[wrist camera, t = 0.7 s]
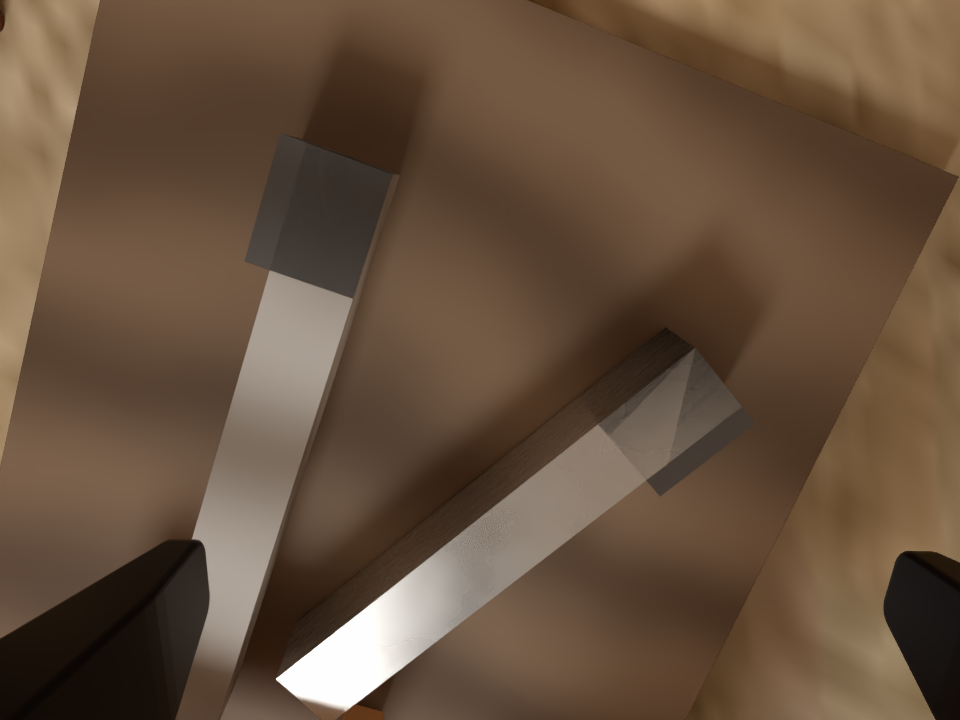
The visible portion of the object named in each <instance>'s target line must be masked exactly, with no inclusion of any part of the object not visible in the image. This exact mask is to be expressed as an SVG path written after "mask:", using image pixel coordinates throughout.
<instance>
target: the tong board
mask: <svg viewBox="0 0 960 720" xmlns="http://www.w3.org/2000/svg"><path fill="white" fill-rule="evenodd" d="M957 179H958V176H956V175H953V174H951V173H948V172H946V171H943V170H941V169H939V168H936V167H934V166H931V165H929V164H926V163H924V162H921V161H919V160H917V159H914V158H912V157H909V156H907V155H904V154H902V153H900V152H897V151H895V150H892V149H890V148H887V147H885V146H882V145H880V144H878V143H875V142H873V141H870V140H868V139H865V138H863V137H860V136H858V135H856V134H853V133H851V132H848V131H846V130H843V129H841V128H838V127H836V126H834V125H831V124H829V123H826V122H824V121H821V120H819V119H817V118H814V117H812V116H809V115H807V114H804V113H802V112H799V111H797V110H795V109H792V108H790V107H787V106H785V105H782V104H780V103H777V102H775V101H773V100H770V99H768V98H765V97H763V96H760V95H758V94H755V93H753V92H751V91H748V90H746V89H743V88H741V87H738V86H736V85H734V84H731V83H729V82H726V81H724V80H721V79H719V78H716V77H714V76H712V75H709V74H707V73H704V72H702V71H699V70H697V69H694V68H692V67H690V66H687V65H685V64H682V63H680V62H677V61H675V60H672V59H670V58H668V57H665V56H663V55H660V54H658V53H655V52H653V51H651V50H648V49H646V48H643V47H641V46H638V45H636V44H633V43H631V42H629V41H626V40H624V39H621V38H619V37H616V36H614V35H611V34H609V33H607V32H604V31H602V30H599V29H597V28H594V27H592V26H589V25H587V24H585V23H582V22H580V21H577V20H575V19H572V18H570V17H568V16H565V15H563V14H560V13H558V12H555V11H553V10H550V9H548V8H546V7H543V6H541V5H538V4H536V3H533V2H531V1H528V0H100V3H99V8H98V12H97V17H96V22H95V26H94V31H93V36H92V40H91V45H90V50H89V54H88V59H87V64H86V68H85V73H84V78H83V82H82V87H81V92H80V97H79V101H78V106H77V111H76V115H75V120H74V125H73V129H72V134H71V139H70V143H69V148H68V153H67V157H66V162H65V167H64V171H63V176H62V181H61V185H60V190H59V195H58V199H57V204H56V209H55V213H54V218H53V223H52V227H51V232H50V237H49V241H48V246H47V251H46V255H45V260H44V265H43V269H42V274H41V279H40V283H39V288H38V293H37V297H36V302H35V307H34V312H33V316H32V321H31V326H30V330H29V335H28V340H27V344H26V349H25V354H24V358H23V363H22V368H21V372H20V377H19V382H18V386H17V391H16V396H15V400H14V405H13V410H12V414H11V419H10V424H9V428H8V433H7V438H6V442H5V447H4V452H3V456H2V461H1V466H0V638H2V637H3V636H5V635H7V634H8V633H10V632H12V631H14V630H15V629H17V628H19V627H20V626H22V625H24V624H25V623H27V622H29V621H30V620H32V619H34V618H36V617H37V616H39V615H41V614H42V613H44V612H46V611H47V610H49V609H51V608H52V607H54V606H56V605H58V604H59V603H61V602H63V601H64V600H66V599H68V598H69V597H71V596H73V595H74V594H76V593H78V592H79V591H81V590H83V589H85V588H86V587H88V586H90V585H91V584H93V583H95V582H96V581H98V580H100V579H101V578H103V577H105V576H106V575H108V574H110V573H112V572H113V571H115V570H117V569H118V568H120V567H122V566H123V565H125V564H127V563H128V562H130V561H132V560H134V559H135V558H137V557H139V556H140V555H142V554H144V553H145V552H147V551H149V550H150V549H152V548H154V547H155V546H157V545H159V544H161V543H162V542H164V541H166V540H169V539H197V540H200V541H201V542H202V543H203V545H204V547H205V552H206V561H207V572H208V582H209V592H210V602H209V610H208V614H207V618H206V621H205V624H204V628H203V631H202V634H201V638H200V641H199V644H198V648H197V651H196V654H195V657H194V661H193V664H192V667H191V671H190V674H189V677H188V681H187V684H186V687H185V690H184V694H183V697H182V700H181V704H180V707H179V710H178V713H177V716H176V719H175V720H321V719H320V718H319V717H318V716H317V715H316V714H314V713H313V712H312V711H311V710H310V709H309V708H308V707H307V706H306V705H304V704H303V703H302V702H301V701H300V700H299V699H298V698H297V697H296V696H294V695H293V694H292V693H291V692H290V691H289V690H288V689H287V688H285V687H284V686H283V685H282V684H281V683H280V682H279V681H278V680H277V679H276V678H277V675H278V672H279V669H280V666H281V663H282V661H283V658H284V655H285V652H286V649H287V646H288V643H289V640H290V637H291V634H292V631H293V629H294V626H295V624H296V623H297V622H298V621H300V620H301V619H302V618H303V617H305V616H306V615H307V614H308V613H310V612H311V611H312V610H313V609H315V608H316V607H317V606H318V605H320V604H321V603H322V602H323V601H325V600H326V599H327V598H328V597H330V596H331V595H332V594H333V593H335V592H336V591H337V590H338V589H340V588H341V587H342V586H343V585H345V584H346V583H347V582H348V581H350V580H351V579H352V578H353V577H355V576H356V575H357V574H358V573H360V572H361V571H362V570H363V569H365V568H366V567H367V566H368V565H370V564H371V563H372V562H373V561H375V560H376V559H377V558H378V557H380V556H381V555H382V554H383V553H385V552H386V551H387V550H388V549H390V548H391V547H392V546H393V545H395V544H396V543H397V542H398V541H400V540H401V539H402V538H403V537H405V536H406V535H407V534H408V533H410V532H411V531H412V530H413V529H415V528H416V527H417V526H418V525H420V524H421V523H422V522H423V521H425V520H426V519H427V518H428V517H430V516H431V515H432V514H433V513H434V512H436V511H437V510H438V509H439V508H441V507H442V506H443V505H444V504H446V503H447V502H448V501H449V500H451V499H452V498H453V497H454V496H456V495H457V494H458V493H459V492H461V491H462V490H463V489H464V488H466V487H467V486H468V485H469V484H471V483H472V482H473V481H474V480H476V479H477V478H478V477H479V476H481V475H482V474H483V473H484V472H486V471H487V470H488V469H489V468H491V467H492V466H493V465H494V464H496V463H497V462H498V461H499V460H501V459H502V458H503V457H504V456H506V455H507V454H508V453H509V452H511V451H512V450H513V449H514V448H516V447H517V446H518V445H519V444H521V443H522V442H523V441H524V440H526V439H527V438H528V437H529V436H531V435H532V434H533V433H534V432H536V431H537V430H538V429H539V428H541V427H542V426H543V425H544V424H546V423H547V422H548V421H549V420H551V419H552V418H553V417H554V416H556V415H557V414H558V413H559V412H561V411H562V410H563V409H564V408H566V407H567V406H568V405H569V404H571V403H572V402H573V401H574V400H576V399H577V398H578V397H579V396H581V395H582V394H583V393H584V392H586V391H587V390H588V389H589V388H591V387H592V386H593V385H594V384H596V383H597V382H598V381H599V380H601V379H602V378H603V377H604V376H606V375H607V374H608V373H609V372H611V371H612V370H613V369H614V368H615V367H617V366H618V365H619V364H620V363H622V362H623V361H624V360H625V359H627V358H628V357H629V356H630V355H632V354H633V353H634V352H635V351H637V350H638V349H639V348H640V347H642V346H643V345H644V344H645V343H647V342H648V341H649V340H650V339H652V338H653V337H654V336H655V335H657V334H658V333H659V332H660V331H662V330H663V329H664V328H665V327H666V328H668V329H669V330H671V331H672V332H674V333H675V334H677V335H678V336H679V337H681V338H682V339H684V340H685V341H687V342H688V343H690V344H691V345H693V346H694V347H695V348H696V349H697V350H698V351H699V353H700V354H701V355H702V356H703V358H704V359H705V360H706V362H707V363H708V364H709V365H710V367H711V368H712V369H713V370H714V372H715V373H716V374H717V376H718V377H719V378H720V379H721V381H722V382H723V383H724V385H725V386H726V387H727V388H728V390H729V391H730V392H731V393H732V395H733V396H734V397H735V399H736V400H737V401H738V402H739V404H740V405H741V406H742V407H743V409H744V410H745V411H746V413H747V414H748V415H749V416H750V418H751V419H752V420H753V421H754V423H755V425H753V426H752V427H751V428H749V429H748V430H747V431H745V432H744V433H743V434H741V435H740V436H739V437H738V438H736V439H735V440H734V441H732V442H731V443H730V444H728V445H727V446H726V447H724V448H723V449H722V450H721V451H719V452H718V453H717V454H715V455H714V456H713V457H711V458H710V459H709V460H707V461H706V462H705V463H703V464H702V465H701V466H700V467H698V468H697V469H696V470H694V471H693V472H692V473H690V474H689V475H688V476H686V477H685V478H684V479H683V480H681V481H680V482H679V483H677V484H676V485H675V486H673V487H672V488H671V489H669V490H668V491H667V492H665V493H664V494H663V495H662V496H659V495H658V494H657V493H656V491H655V490H654V489H653V488H652V487H651V486H650V484H649V483H648V482H647V481H645V482H643V483H642V484H641V485H639V486H638V487H637V488H636V489H634V490H633V491H632V492H630V493H629V494H628V495H626V496H625V497H624V498H623V499H621V500H620V501H619V502H617V503H616V504H615V505H613V506H612V507H611V508H610V509H608V510H607V511H606V512H604V513H603V514H602V515H600V516H599V517H598V518H597V519H595V520H594V521H593V522H591V523H590V524H589V525H587V526H586V527H585V528H584V529H582V530H581V531H580V532H578V533H577V534H576V535H574V536H573V537H572V538H571V539H569V540H568V541H567V542H565V543H564V544H563V545H561V546H560V547H559V548H558V549H556V550H555V551H554V552H552V553H551V554H550V555H548V556H547V557H546V558H545V559H543V560H542V561H541V562H539V563H538V564H537V565H535V566H534V567H533V568H532V569H530V570H529V571H528V572H526V573H525V574H524V575H522V576H521V577H520V578H519V579H517V580H516V581H515V582H513V583H512V584H511V585H509V586H508V587H507V588H506V589H504V590H503V591H502V592H500V593H499V594H498V595H496V596H495V597H494V598H493V599H491V600H490V601H489V602H487V603H486V604H485V605H483V606H482V607H481V608H480V609H478V610H477V611H476V612H474V613H473V614H472V615H470V616H469V617H468V618H467V619H465V620H464V621H463V622H461V623H460V624H459V625H457V626H456V627H455V628H454V629H452V630H451V631H450V632H448V633H447V634H446V635H444V636H443V637H442V638H441V639H439V640H438V641H437V642H435V643H434V644H433V645H431V646H430V647H429V648H428V649H426V650H425V651H424V652H422V653H421V654H420V655H418V656H417V657H416V658H415V659H413V660H412V661H411V662H409V663H408V664H407V665H405V666H404V667H403V668H402V669H400V670H399V671H398V672H396V673H395V674H394V675H392V676H391V677H390V678H389V679H387V680H386V681H385V682H383V683H382V684H381V685H379V686H378V687H377V688H376V689H374V690H373V691H372V692H370V693H369V694H368V695H366V696H365V697H364V698H363V699H361V700H360V701H359V702H357V703H356V705H359V706H363V707H367V708H371V709H374V710H378V711H382V712H384V717H383V720H686V718H687V716H688V714H689V712H690V710H691V708H692V706H693V704H694V702H695V700H696V698H697V696H698V694H699V692H700V690H701V688H702V686H703V684H704V682H705V680H706V678H707V676H708V674H709V672H710V670H711V668H712V666H713V664H714V662H715V660H716V658H717V657H718V655H719V653H720V651H721V649H722V647H723V645H724V643H725V641H726V639H727V637H728V635H729V633H730V631H731V629H732V627H733V625H734V623H735V621H736V619H737V617H738V615H739V613H740V611H741V609H742V607H743V605H744V603H745V601H746V599H747V597H748V595H749V593H750V591H751V589H752V587H753V585H754V583H755V581H756V579H757V577H758V575H759V573H760V571H761V569H762V567H763V565H764V563H765V561H766V559H767V557H768V555H769V553H770V551H771V549H772V547H773V545H774V543H775V541H776V539H777V537H778V535H779V533H780V531H781V529H782V527H783V525H784V523H785V521H786V519H787V517H788V515H789V513H790V511H791V509H792V507H793V505H794V503H795V501H796V499H797V497H798V495H799V493H800V492H801V490H802V488H803V486H804V484H805V482H806V480H807V478H808V476H809V474H810V472H811V470H812V468H813V466H814V464H815V462H816V460H817V458H818V456H819V454H820V452H821V450H822V448H823V446H824V444H825V442H826V440H827V438H828V436H829V434H830V432H831V430H832V428H833V426H834V424H835V422H836V420H837V418H838V416H839V414H840V412H841V410H842V408H843V406H844V404H845V402H846V400H847V398H848V396H849V394H850V392H851V390H852V388H853V386H854V384H855V382H856V380H857V378H858V376H859V374H860V372H861V370H862V368H863V366H864V364H865V362H866V360H867V358H868V356H869V354H870V352H871V350H872V348H873V346H874V344H875V342H876V340H877V338H878V336H879V334H880V332H881V330H882V328H883V326H884V325H885V323H886V321H887V319H888V317H889V315H890V313H891V311H892V309H893V307H894V305H895V303H896V301H897V299H898V297H899V295H900V293H901V291H902V289H903V287H904V285H905V283H906V281H907V279H908V277H909V275H910V273H911V271H912V269H913V267H914V265H915V263H916V261H917V259H918V257H919V255H920V253H921V251H922V249H923V247H924V245H925V243H926V241H927V239H928V237H929V235H930V233H931V231H932V229H933V227H934V225H935V223H936V221H937V219H938V217H939V215H940V213H941V211H942V209H943V207H944V205H945V203H946V201H947V199H948V197H949V195H950V193H951V191H952V189H953V187H954V185H955V183H956V181H957ZM341 717H342V715H340V716H339V717H338V718H337V719H335V720H340V719H341Z"/></svg>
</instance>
